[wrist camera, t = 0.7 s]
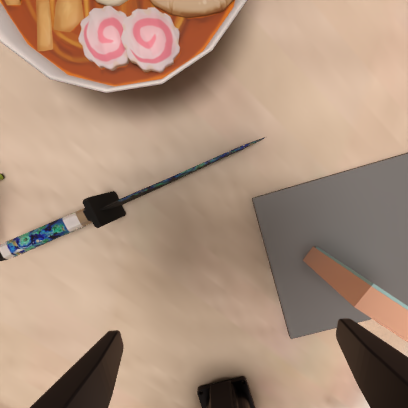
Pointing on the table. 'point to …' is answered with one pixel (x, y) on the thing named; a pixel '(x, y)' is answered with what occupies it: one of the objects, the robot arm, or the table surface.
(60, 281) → the table surface
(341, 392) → the table surface
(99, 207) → the knife
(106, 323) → the table surface
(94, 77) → the ramen bowl
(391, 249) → the mat
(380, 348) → the robot arm
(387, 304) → the tile
